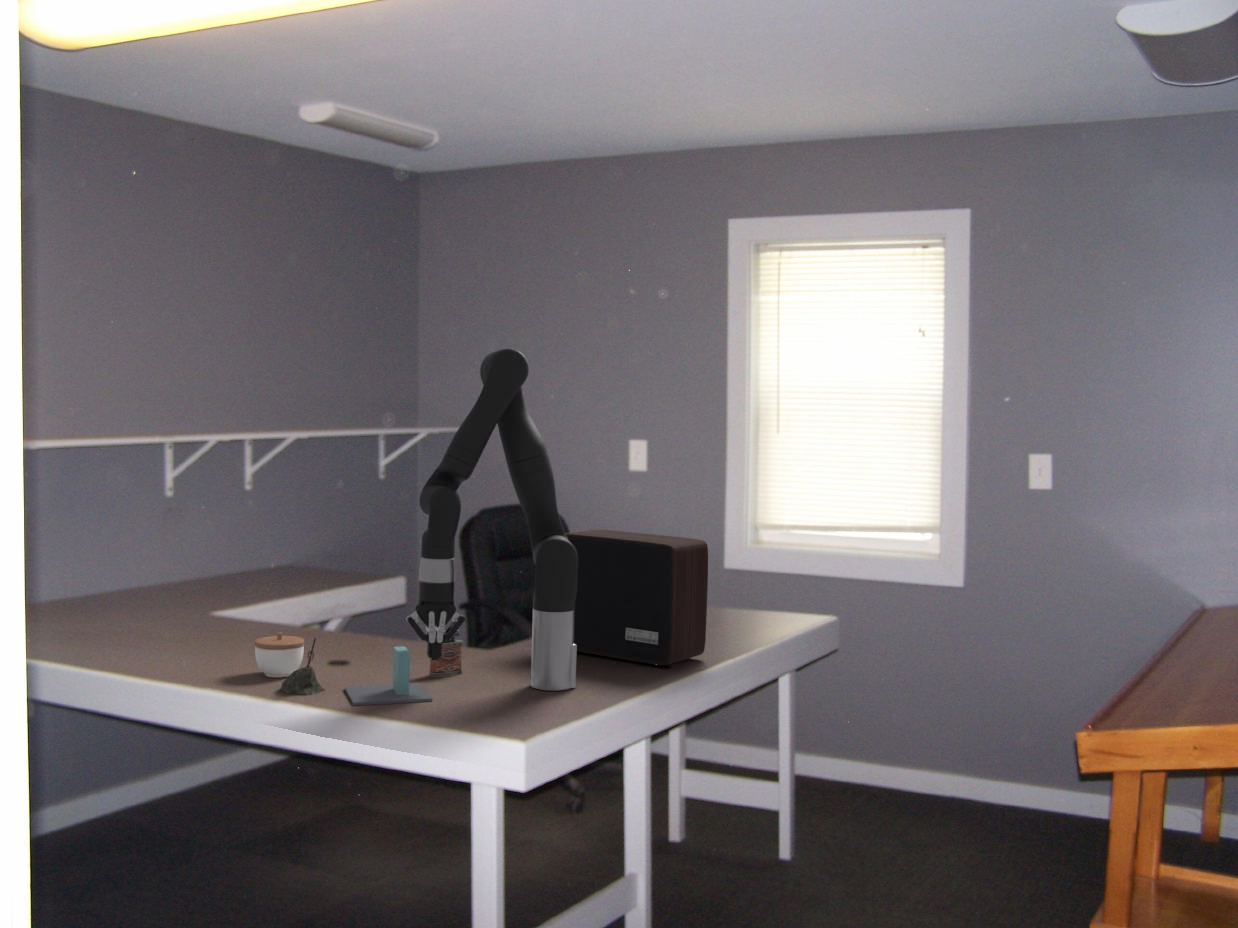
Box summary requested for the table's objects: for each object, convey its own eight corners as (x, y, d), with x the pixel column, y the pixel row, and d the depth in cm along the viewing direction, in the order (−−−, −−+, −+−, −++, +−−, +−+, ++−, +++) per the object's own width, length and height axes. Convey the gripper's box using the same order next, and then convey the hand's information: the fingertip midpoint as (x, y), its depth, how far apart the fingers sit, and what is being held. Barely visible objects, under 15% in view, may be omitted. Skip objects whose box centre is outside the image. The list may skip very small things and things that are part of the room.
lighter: (433, 677, 274) (434, 633, 274) (426, 674, 277) (427, 631, 276) (464, 673, 279) (465, 630, 278) (457, 670, 282) (458, 628, 281)
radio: (708, 659, 303) (712, 539, 302) (671, 670, 289) (675, 544, 287) (590, 640, 324) (593, 527, 322) (549, 650, 309) (552, 532, 307)
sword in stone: (269, 690, 258) (270, 635, 258) (298, 684, 265) (299, 630, 264) (302, 698, 253) (302, 641, 252) (330, 691, 260) (331, 636, 259)
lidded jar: (285, 667, 280) (285, 626, 280) (313, 674, 274) (314, 633, 273) (244, 674, 272) (245, 632, 272) (272, 682, 265) (273, 639, 265)
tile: (404, 688, 261) (404, 646, 260) (409, 694, 255) (410, 651, 255) (392, 688, 260) (393, 646, 260) (397, 695, 254) (398, 652, 254)
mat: (419, 685, 266) (419, 683, 266) (432, 701, 253) (432, 698, 253) (344, 689, 260) (344, 686, 260) (353, 705, 247) (353, 702, 247)
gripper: (408, 581, 253) (405, 664, 254) (471, 581, 258) (468, 662, 258) (402, 576, 260) (399, 656, 261) (463, 575, 265) (460, 655, 265)
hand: (434, 659), depth 260 cm, fingers closed
